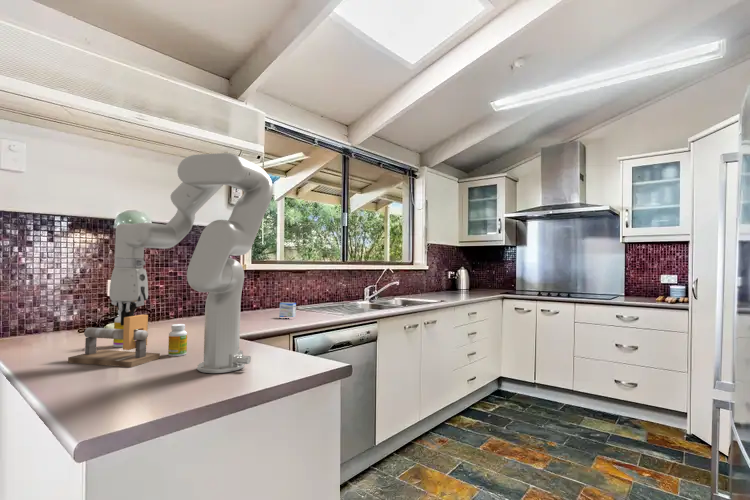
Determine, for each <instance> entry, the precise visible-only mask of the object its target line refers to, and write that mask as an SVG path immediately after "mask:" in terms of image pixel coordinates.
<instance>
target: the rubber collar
mask: <svg viewBox="0 0 750 500" xmlns="http://www.w3.org/2000/svg"><path fill="white" fill-rule="evenodd" d="M148 323H149V314H137V315H134V316H130V317H124V332H123V348H122V351H130V350H134V349H135V350H136V341H138V340H135V341H133V337H134V330H135V329H136V330H146V331H147V332H148V331H149V329H148V328H149V326H148V325H149V324H148ZM146 346H148V338H147V339H146Z"/></svg>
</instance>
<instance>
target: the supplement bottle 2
mask: <svg viewBox="0 0 750 500" xmlns="http://www.w3.org/2000/svg"><path fill="white" fill-rule="evenodd" d="M170 327H171V331H170V332H168V351H167V354H168V356H169V357H182V356H185V355H187V353H188V352H187V351H188V348H187V347H188V332H187V331H186V330H185V329H186V324H184V323H175V324H171V326H170Z"/></svg>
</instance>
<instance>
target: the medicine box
mask: <svg viewBox="0 0 750 500" xmlns="http://www.w3.org/2000/svg"><path fill="white" fill-rule="evenodd" d="M278 314H279V317H295V316H296V315H297V302H279V313H278ZM296 317H297V316H296Z"/></svg>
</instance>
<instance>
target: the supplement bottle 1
mask: <svg viewBox="0 0 750 500" xmlns="http://www.w3.org/2000/svg"><path fill="white" fill-rule="evenodd" d="M117 314H118V316H116V317H115V318H114V321H113V326H114V327H113V329H124V325H121V312H120V311H119V309H118V311H117ZM135 330H137V329H135ZM133 341H136V340H133ZM112 342H113V345H112V346H113V347H114V348H122V349H123V339H113V341H112Z"/></svg>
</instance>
